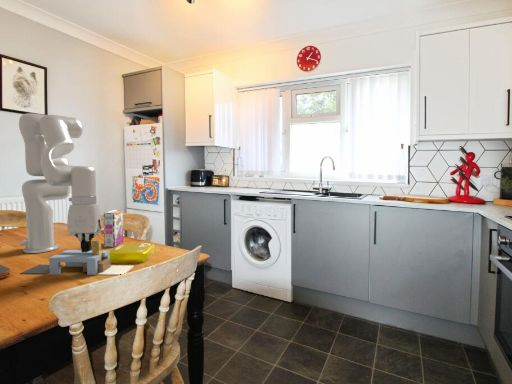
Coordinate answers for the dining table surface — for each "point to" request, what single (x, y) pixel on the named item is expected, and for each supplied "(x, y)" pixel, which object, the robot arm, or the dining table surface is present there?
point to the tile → (116, 270)
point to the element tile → (132, 253)
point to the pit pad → (38, 270)
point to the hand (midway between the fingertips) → (86, 251)
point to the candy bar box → (113, 228)
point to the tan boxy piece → (102, 263)
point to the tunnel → (76, 261)
